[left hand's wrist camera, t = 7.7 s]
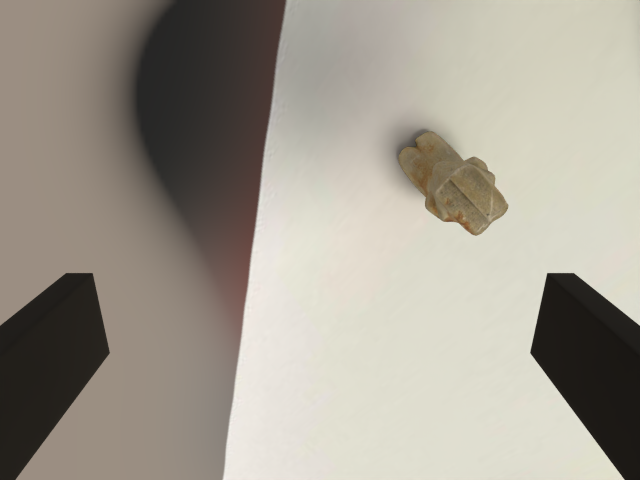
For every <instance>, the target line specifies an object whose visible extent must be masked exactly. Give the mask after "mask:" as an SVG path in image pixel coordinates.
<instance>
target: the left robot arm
mask: <svg viewBox="0 0 640 480" xmlns="http://www.w3.org/2000/svg"><path fill="white" fill-rule="evenodd" d="M109 353H110V352H109V347H108V343H107V338H106V333H105V329H104V324H103V319H102V315H101V310H100V305H99V301H98V296H97V291H96V287H95V282H94V277H93V274H92V273H66V274H65V275H63V276H62V277H61V278H59V279H58V280H57V281H56V282H54V283H53V284H52V285H51V286H49V287H48V288H47V289H46V290H44V291H43V292H42V293H41V294H39V295H38V296H37V297H36V298H34V299H33V300H32V301H31V302H29V303H28V304H27V305H26V306H24V307H23V308H22V309H21V310H19V311H18V312H17V313H16V314H14V315H13V316H12V317H11V318H9V319H8V320H7V321H6V322H4V323H3V324H2V325H1V326H0V480H15V479H16V478H17V477H18V475H19V474H20V473H21V471H22V470H23V469H24V467H25V466H26V465H27V463H28V462H29V461H30V459H31V458H32V457H33V455H34V454H35V453H36V451H37V450H38V449H39V447H40V446H41V444H42V443H43V442H44V441H45V439H46V438H47V436H48V435H49V434H50V432H51V431H52V430H53V428H54V427H55V426H56V424H57V423H58V422H59V420H60V419H61V418H62V416H63V415H64V414H65V412H66V411H67V410H68V408H69V407H70V406H71V404H72V403H73V402H74V400H75V399H76V397H77V396H78V395H79V394H80V392H81V391H82V389H83V388H84V387H85V385H86V384H87V383H88V381H89V380H90V379H91V377H92V376H93V375H94V373H95V372H96V371H97V369H98V368H99V367H100V365H101V364H102V363H103V361H104V360H105V359H106V357H107V356H108V355H109ZM530 353H531V355H532V356H533V357H534V359H535V360H536V361H537V363H538V364H539V365H540V367H541V368H542V369H543V371H544V372H545V373H546V375H547V376H548V377H549V379H550V380H551V381H552V383H553V384H554V385H555V387H556V388H557V389H558V391H559V392H560V394H561V395H562V396H563V398H564V399H565V400H566V402H567V403H568V404H569V406H570V407H571V408H572V410H573V411H574V412H575V414H576V415H577V416H578V418H579V419H580V420H581V422H582V423H583V424H584V426H585V427H586V428H587V430H588V431H589V432H590V434H591V435H592V436H593V438H594V439H595V441H596V442H597V443H598V445H599V446H600V447H601V449H602V450H603V451H604V453H605V454H606V455H607V457H608V458H609V459H610V461H611V462H612V463H613V465H614V466H615V467H616V469H617V470H618V471H619V473H620V474H621V475H622V477H623V478H624V479H625V480H640V326H639V325H638V324H637V323H636V322H634V321H633V320H632V319H631V318H629V317H628V316H627V315H626V314H624V313H623V312H622V311H621V310H619V309H618V308H617V307H616V306H614V305H613V304H612V303H611V302H609V301H608V300H607V299H606V298H604V297H603V296H602V295H601V294H599V293H598V292H597V291H596V290H594V289H593V288H592V287H591V286H589V285H588V284H587V283H586V282H584V281H583V280H582V279H581V278H579V277H578V276H577V275H575V274H574V273H547V277H546V282H545V287H544V291H543V296H542V301H541V305H540V310H539V315H538V319H537V324H536V329H535V333H534V338H533V343H532V347H531V352H530Z"/></svg>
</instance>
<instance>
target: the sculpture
mask: <svg viewBox="0 0 640 480" xmlns="http://www.w3.org/2000/svg"><path fill="white" fill-rule="evenodd" d="M415 142H416V147H406V148H404V149H403V150H402V151H401V153H400V155H399V158H398V160H399V164H400V166H401V168H402V169H403V171H404V172H405V174H406V175H407V176H408V178H409V179H410V180H411V181H412V183H413V184H414V185H415V186H416V187H417V188H418V190H419V191H420V192H421V193H422V194H423V195H424V196H425V197H426V200H425V207H426V209H427V210H428V211H429V212H431V213H432V214H434V215H435V216H437V217H438V218H439V219H441V220H442V221H444V222H457V223H459V224H460V225H461V226H462V227H464V228H465V229H466V230H467V231H468V232H470V233H471V234H473V235H476V236H477V235H479V234H481V233H482V232H483V231H485V230H486V229H487V228H488V226H489V225H490V224H491V223H492V222H493V221H495V220H496V219H498V218H500V217H501V216H503V215H504V214H505V212H506V211H507V209H508V204H507V203H506V201H505V199H504V197H503V195H502V194H501V193H500V192H499V191H498V189H497V188H496V187H495V186H494V184H495V176H494V174H492V173H491V172H489V171H488V169H487V166H486V164H485V163H484V162H483V161H482V160H480V159H478V158H476V157H472V158H469V159H467V160H465V161H463V160H462V158H461V157H460V156H459V155H458V154H457V153H456V151H455V150H454V149H453V148H452V147H451V146H450V145H448V144H447V143H446V142H445V141H444V140H443V139H442V138H441V137H439V136H438V135H437V134H436V133H434V132H426V133H424V134H423V135H421V136H419V137H418V138H416V140H415Z"/></svg>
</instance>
